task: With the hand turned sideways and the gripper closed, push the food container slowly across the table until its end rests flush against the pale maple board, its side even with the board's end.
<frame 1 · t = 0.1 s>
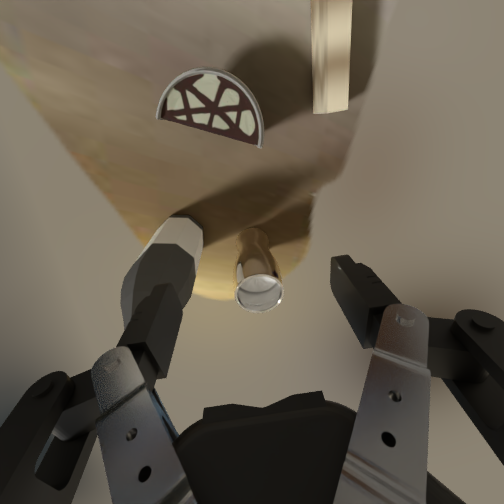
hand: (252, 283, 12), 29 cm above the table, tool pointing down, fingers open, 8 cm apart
food container: (220, 106, 33), on the table
maple board: (321, 8, 28), on the table
wine bottle: (182, 233, 42), on the table
beer glass: (252, 241, 44), on the table
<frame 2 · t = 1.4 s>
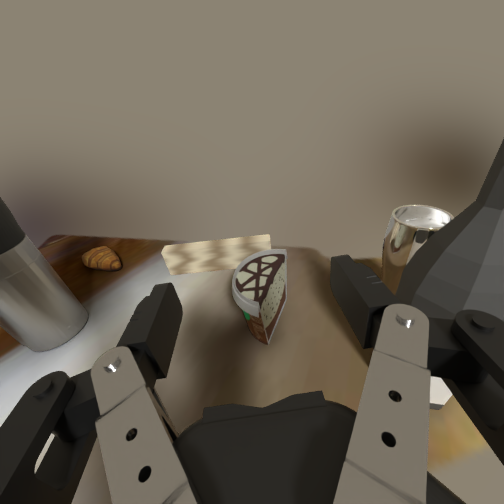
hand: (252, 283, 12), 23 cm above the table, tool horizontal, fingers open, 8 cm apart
food container: (260, 316, 39), on the table
croissant: (104, 265, 58), on the table
maple board: (221, 266, 51), on the table
wine bottle: (410, 375, 29), on the table
beer glass: (394, 299, 38), on the table
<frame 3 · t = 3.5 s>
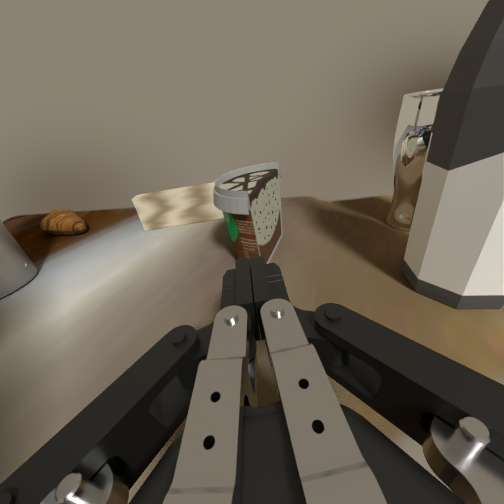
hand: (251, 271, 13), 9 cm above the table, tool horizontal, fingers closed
food container: (252, 252, 32), on the table
croissant: (68, 232, 49), on the table
maple board: (204, 218, 44), on the table
wine bottle: (451, 281, 22), on the table
beer glass: (410, 223, 32), on the table
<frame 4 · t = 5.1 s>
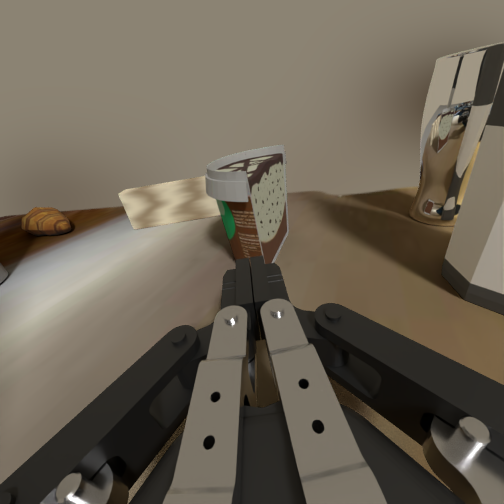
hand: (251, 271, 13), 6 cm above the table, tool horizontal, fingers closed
food container: (253, 251, 27), on the table
croissant: (51, 232, 45), on the table
maple board: (200, 215, 39), on the table
beer glass: (439, 216, 27), on the table
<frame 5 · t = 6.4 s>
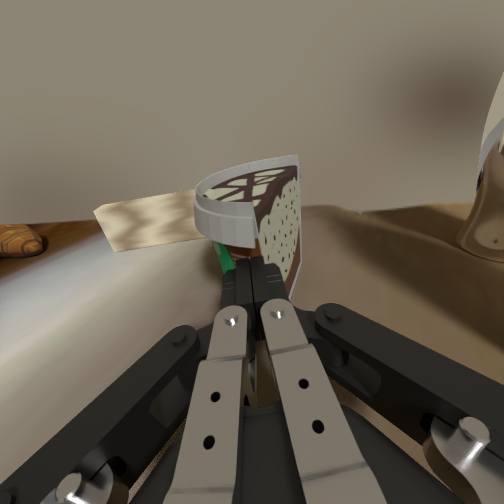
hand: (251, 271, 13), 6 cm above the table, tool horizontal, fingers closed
food container: (258, 290, 21), on the table, touching gripper
croissant: (21, 253, 39), on the table
maple board: (194, 235, 33), on the table
beer glass: (498, 247, 21), on the table
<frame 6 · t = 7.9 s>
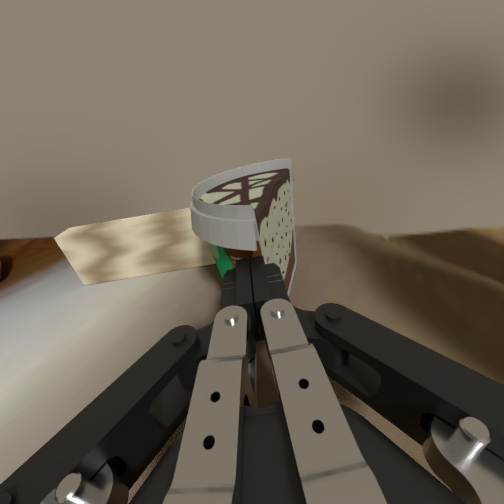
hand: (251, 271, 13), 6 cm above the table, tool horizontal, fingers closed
food container: (255, 293, 21), on the table, touching gripper
maple board: (182, 263, 27), on the table
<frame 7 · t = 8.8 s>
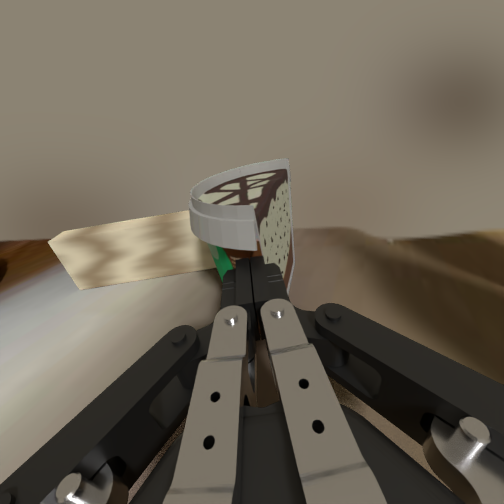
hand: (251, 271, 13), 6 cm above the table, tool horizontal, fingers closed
food container: (254, 293, 21), on the table, touching gripper
maple board: (181, 267, 26), on the table
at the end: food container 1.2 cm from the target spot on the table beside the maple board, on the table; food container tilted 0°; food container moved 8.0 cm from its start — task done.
